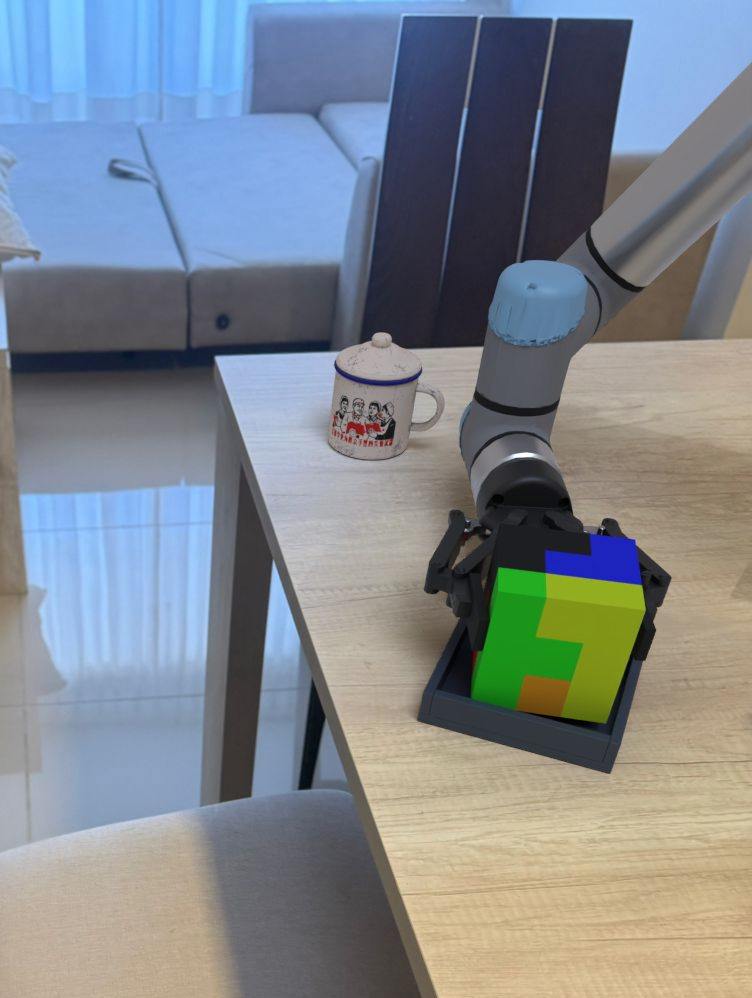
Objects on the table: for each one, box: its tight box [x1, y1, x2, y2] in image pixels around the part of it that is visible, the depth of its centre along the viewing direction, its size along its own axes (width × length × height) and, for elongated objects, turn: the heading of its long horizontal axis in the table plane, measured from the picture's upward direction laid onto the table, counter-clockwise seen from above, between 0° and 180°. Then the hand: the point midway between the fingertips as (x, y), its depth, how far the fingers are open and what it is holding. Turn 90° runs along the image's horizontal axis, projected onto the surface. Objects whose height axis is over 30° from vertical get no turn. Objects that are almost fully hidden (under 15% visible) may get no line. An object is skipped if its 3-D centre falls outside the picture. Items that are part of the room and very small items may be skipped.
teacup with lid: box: [327, 332, 446, 461], centre depth 121 cm, size 12×9×12 cm
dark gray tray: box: [417, 617, 644, 775], centre depth 91 cm, size 15×15×3 cm
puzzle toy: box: [471, 523, 646, 723], centre depth 87 cm, size 10×10×10 cm
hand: (563, 640), depth 84 cm, fingers closed on puzzle toy, 11 cm apart
